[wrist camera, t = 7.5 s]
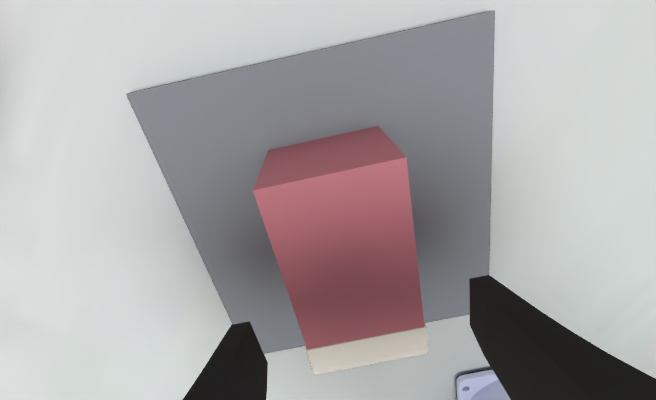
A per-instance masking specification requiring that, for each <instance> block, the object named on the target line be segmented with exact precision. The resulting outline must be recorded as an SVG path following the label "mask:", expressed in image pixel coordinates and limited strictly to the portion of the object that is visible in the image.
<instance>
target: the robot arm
mask: <svg viewBox="0 0 656 400" xmlns="http://www.w3.org/2000/svg"><path fill="white" fill-rule="evenodd" d="M469 287H470V326H471V328H472V330H473V332H474V335H475V337H476V339H477V341H478V343H479V345H480V348H481V350H482V352H483V354H484V356H485V358H486V359H487V361H488V363H489V364H490V366H491V368H492V369H493V370H487V371H482V372H476V373H471V374H465V375H461V376H459V377H458V378H457V400H656V379H655V378H653V377H651V376H649V375H647V374H645V373H643V372H641V371H640V370H638V369H636V368H634V367H632V366H630V365H628V364H627V363H625V362H623V361H621V360H619V359H617V358H615V357H614V356H612V355H610V354H608V353H607V352H605V351H603V350H601V349H600V348H598V347H596V346H595V345H593V344H591V343H590V342H588V341H586V340H585V339H583V338H581V337H580V336H578V335H576V334H575V333H573V332H572V331H570V330H568V329H567V328H565V327H564V326H562V325H561V324H559V323H558V322H556V321H555V320H553V319H552V318H550V317H548V316H547V315H545V314H544V313H542V312H541V311H539V310H538V309H536V308H535V307H534V306H532V305H531V304H529V303H528V302H526V301H525V300H523V299H522V298H521V297H519V296H518V295H516V294H515V293H514V292H512V291H511V290H509V289H508V288H506V287H505V286H504V285H502V284H501V283H499V282H498V281H497V280H495V279H494V278H492V277H491V276H489V275H486V276H481V277H476V278H470V279H469ZM267 364H268V363H267V361H266V358H265V356H264V354H263V351H262V349H261V346H260V344H259V342H258V339H257V337H256V335H255V332H254V330H253V328H252V325H251V323H250V321H249V322H244V323H239V324H233V325H231V327H230V328H229V330H228V331H227V333H226V334H225V336H224V338H223V339H222V341H221V342H220V344H219V345H218V347H217V349H216V350H215V352H214V353H213V355H212V356H211V358H210V360H209V361H208V363H207V364H206V366H205V367H204V369H203V370H202V372H201V373H200V375H199V376H198V378H197V379H196V381H195V382H194V384H193V385H192V387H191V389H190V390H189V391H188V393H187V394H186V396H185V397H184V399H183V400H266V392H267Z"/></svg>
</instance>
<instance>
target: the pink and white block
mask: <svg viewBox="0 0 656 400" xmlns="http://www.w3.org/2000/svg"><path fill="white" fill-rule="evenodd" d="M253 193H254V196H255V198H256V201H257V204H258V207H259V210H260V213H261V216H262V219H263V222H264V225H265V228H266V231H267V234H268V236H269V239H270V242H271V245H272V248H273V251H274V254H275V257H276V260H277V263H278V266H279V269H280V272H281V274H282V277H283V280H284V283H285V286H286V289H287V292H288V295H289V298H290V301H291V304H292V307H293V310H294V312H295V315H296V318H297V321H298V324H299V327H300V330H301V333H302V336H303V339H304V342H305V345H306V352H307V355H308V358H309V361H310V364H311V367H312V370H313V372H314V375H319V374H324V373H329V372H334V371H340V370H345V369H350V368H355V367H361V366H366V365H371V364H376V363H381V362H387V361H392V360H397V359H402V358H408V357H413V356H418V355H423V354H428V353H429V349H428V340H427V330H426V326H425V323H424V316H423V307H422V298H421V289H420V279H419V270H418V261H417V252H416V242H415V233H414V224H413V215H412V205H411V196H410V187H409V178H408V168H407V159H406V156H405V155H404V154H403V153H402V152H401V151H400V150H399V149H398V147H397V146H396V145H395V144H394V143H393V142H392V141H391V139H390V138H389V137H388V136H387V135H386V134H385V133H384V132H383V130H382V129H381V128H380V127H379V126H376V127H371V128H367V129H362V130H358V131H353V132H348V133H344V134H339V135H335V136H330V137H326V138H321V139H317V140H312V141H308V142H303V143H299V144H294V145H290V146H285V147H281V148H276V149H272V150H268V153H267V155H266V158H265V160H264V163H263V166H262V168H261V171H260V173H259V176H258V178H257V181H256V184H255V186H254V189H253Z"/></svg>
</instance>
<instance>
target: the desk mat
mask: <svg viewBox="0 0 656 400" xmlns="http://www.w3.org/2000/svg"><path fill="white" fill-rule="evenodd" d="M494 29H495V10H494V11H488V12H484V13H479V14H475V15H471V16H466V17H462V18H457V19H453V20H449V21H444V22H440V23H435V24H431V25H427V26H422V27H418V28H413V29H409V30H404V31H400V32H396V33H391V34H387V35H382V36H378V37H374V38H369V39H365V40H360V41H356V42H352V43H347V44H343V45H338V46H334V47H330V48H325V49H321V50H316V51H312V52H307V53H303V54H299V55H294V56H290V57H285V58H281V59H277V60H272V61H268V62H263V63H259V64H255V65H250V66H246V67H241V68H237V69H233V70H228V71H224V72H219V73H215V74H211V75H206V76H202V77H197V78H193V79H188V80H184V81H180V82H175V83H171V84H166V85H162V86H158V87H153V88H149V89H144V90H140V91H136V92H131V93H128V94H126V95H127V97H128V99H129V102H130V104H131V106H132V108H133V110H134V112H135V115H136V117H137V119H138V121H139V123H140V125H141V128H142V130H143V132H144V134H145V136H146V138H147V140H148V143H149V145H150V147H151V149H152V151H153V153H154V156H155V158H156V160H157V162H158V164H159V166H160V169H161V171H162V173H163V175H164V177H165V179H166V182H167V184H168V186H169V188H170V190H171V192H172V194H173V197H174V199H175V201H176V203H177V205H178V207H179V210H180V212H181V214H182V216H183V218H184V220H185V223H186V225H187V227H188V229H189V231H190V233H191V236H192V238H193V240H194V242H195V244H196V246H197V249H198V251H199V253H200V255H201V257H202V259H203V261H204V264H205V266H206V268H207V270H208V272H209V274H210V277H211V279H212V281H213V283H214V285H215V287H216V290H217V292H218V294H219V296H220V298H221V300H222V303H223V305H224V307H225V309H226V311H227V313H228V315H229V318H230V320H231V322H232V324H239V323H244V322H249V321H250V323H251V325H252V328H253V330H254V332H255V335H256V337H257V339H258V342H259V344H260V346H261V349H262V351H263V354H265V353H270V352H275V351H280V350H286V349H291V348H296V347H301V346H306V345H305V342H304V339H303V336H302V333H301V330H300V327H299V324H298V321H297V318H296V315H295V312H294V310H293V307H292V304H291V301H290V298H289V295H288V292H287V289H286V286H285V283H284V280H283V277H282V274H281V272H280V269H279V266H278V263H277V260H276V257H275V254H274V251H273V248H272V245H271V242H270V239H269V236H268V234H267V231H266V228H265V225H264V222H263V219H262V216H261V213H260V210H259V207H258V204H257V201H256V198H255V196H254V193H253V189H254V186H255V184H256V181H257V178H258V176H259V173H260V171H261V168H262V166H263V163H264V160H265V158H266V155H267V153H268V150H272V149H276V148H281V147H285V146H290V145H294V144H299V143H303V142H308V141H312V140H317V139H321V138H326V137H330V136H335V135H339V134H344V133H348V132H353V131H358V130H362V129H367V128H371V127H376V126H379V127H380V128H381V129H382V130H383V132H384V133H385V134H386V135H387V136H388V137H389V138H390V139H391V141H392V142H393V143H394V144H395V145H396V146H397V147H398V149H399V150H400V151H401V152H402V153H403V154H404V155H405V156H406V159H407V168H408V178H409V187H410V196H411V205H412V215H413V224H414V233H415V242H416V252H417V261H418V270H419V279H420V289H421V298H422V307H423V316H424V323H426V322H432V321H437V320H442V319H447V318H452V317H458V316H463V315H468V314H470V287H469V279H470V278H476V277H481V276H486V275H489V254H490V209H491V164H492V119H493V74H494Z"/></svg>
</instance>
